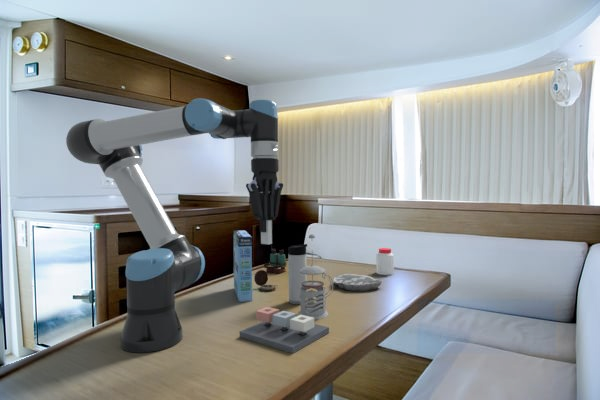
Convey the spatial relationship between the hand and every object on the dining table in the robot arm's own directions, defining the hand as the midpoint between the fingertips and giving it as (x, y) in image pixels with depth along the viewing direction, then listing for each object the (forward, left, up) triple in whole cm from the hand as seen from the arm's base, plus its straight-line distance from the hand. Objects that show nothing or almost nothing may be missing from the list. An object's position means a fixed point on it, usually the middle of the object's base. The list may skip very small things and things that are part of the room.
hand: (266, 243), depth 108 cm
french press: (+19, -3, -25) cm, 31 cm away
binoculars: (+57, +46, -25) cm, 77 cm away
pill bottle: (+83, +3, -25) cm, 87 cm away
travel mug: (+26, +9, -24) cm, 37 cm away
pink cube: (0, 0, -23) cm, 23 cm away
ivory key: (0, -12, -23) cm, 26 cm away
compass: (+33, +29, -25) cm, 50 cm away
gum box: (+22, +32, -25) cm, 46 cm away
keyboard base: (0, -6, -24) cm, 25 cm away
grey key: (0, -6, -23) cm, 23 cm away
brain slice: (+55, +3, -25) cm, 60 cm away
